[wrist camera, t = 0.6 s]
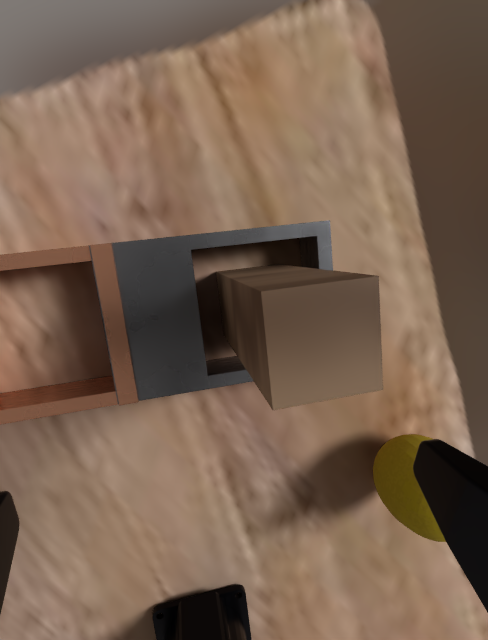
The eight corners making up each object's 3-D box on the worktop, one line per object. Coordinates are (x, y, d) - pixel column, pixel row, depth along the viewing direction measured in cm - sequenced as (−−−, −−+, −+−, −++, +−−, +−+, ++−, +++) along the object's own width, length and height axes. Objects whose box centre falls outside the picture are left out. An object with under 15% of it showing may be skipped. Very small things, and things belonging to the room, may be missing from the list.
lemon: (433, 456, 29) (529, 531, 21) (374, 499, 29) (449, 591, 21) (402, 401, 28) (492, 458, 20) (339, 445, 27) (406, 521, 20)
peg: (284, 325, 25) (383, 389, 13) (223, 334, 24) (272, 410, 13) (278, 264, 24) (378, 275, 13) (215, 271, 24) (260, 291, 12)
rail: (319, 353, 26) (340, 367, 23) (-13, 408, 23) (-42, 433, 19) (310, 224, 24) (331, 220, 21) (-50, 262, 21) (-89, 264, 18)
